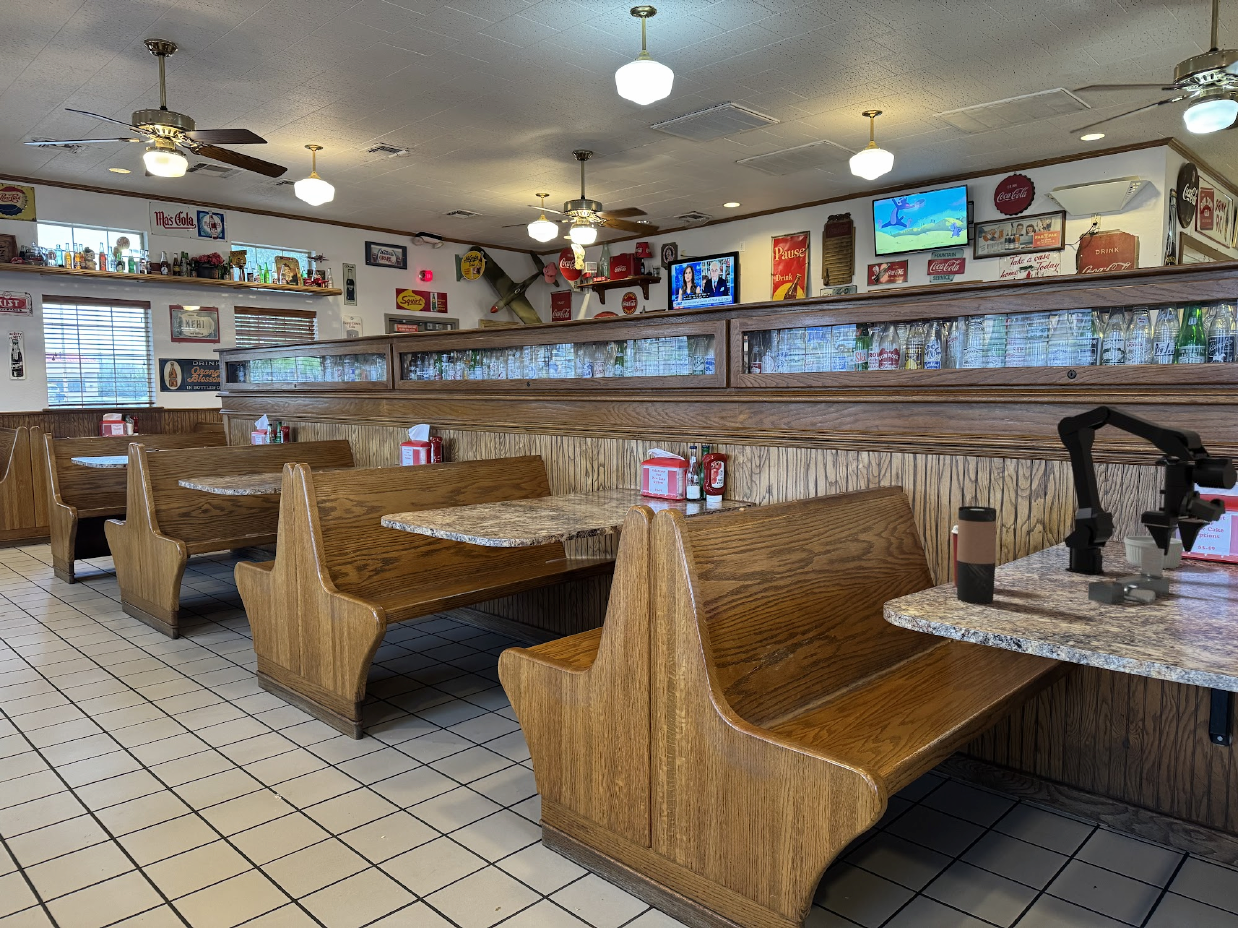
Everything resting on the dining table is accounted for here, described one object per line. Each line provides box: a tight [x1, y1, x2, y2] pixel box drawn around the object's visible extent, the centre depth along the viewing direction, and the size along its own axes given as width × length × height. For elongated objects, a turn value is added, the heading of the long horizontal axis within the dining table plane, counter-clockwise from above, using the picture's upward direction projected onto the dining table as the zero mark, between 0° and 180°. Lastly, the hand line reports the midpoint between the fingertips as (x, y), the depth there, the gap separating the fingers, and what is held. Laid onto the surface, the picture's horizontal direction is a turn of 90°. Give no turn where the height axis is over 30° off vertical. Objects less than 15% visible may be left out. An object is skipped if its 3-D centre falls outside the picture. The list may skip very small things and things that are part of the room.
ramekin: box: [1123, 535, 1184, 570], centre depth 213 cm, size 13×13×7 cm
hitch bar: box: [1087, 574, 1171, 605], centre depth 177 cm, size 5×21×4 cm, turn 117°
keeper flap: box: [1139, 547, 1164, 578], centre depth 181 cm, size 4×1×6 cm, turn 27°
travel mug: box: [956, 505, 997, 605], centre depth 174 cm, size 8×8×20 cm
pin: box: [1103, 579, 1156, 605], centre depth 175 cm, size 10×7×3 cm
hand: (1176, 553), depth 185 cm, fingers open, 9 cm apart
